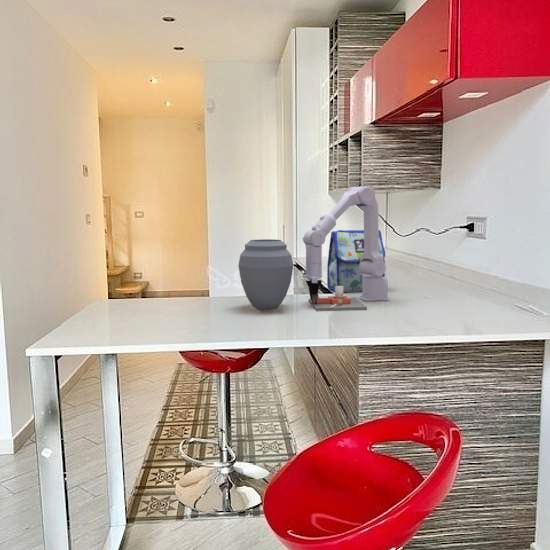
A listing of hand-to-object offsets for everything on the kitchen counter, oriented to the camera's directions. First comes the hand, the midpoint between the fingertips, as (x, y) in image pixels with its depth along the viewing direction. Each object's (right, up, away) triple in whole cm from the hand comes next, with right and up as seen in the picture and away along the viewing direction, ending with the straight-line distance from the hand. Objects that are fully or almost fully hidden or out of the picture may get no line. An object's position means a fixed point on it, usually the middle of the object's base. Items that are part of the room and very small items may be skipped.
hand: (313, 299), depth 196 cm
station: (+9, -2, 0) cm, 10 cm away
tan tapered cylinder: (+9, -3, -6) cm, 11 cm away
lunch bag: (+21, +2, +34) cm, 40 cm away
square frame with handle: (+6, -1, -1) cm, 6 cm away
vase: (-17, -3, -5) cm, 18 cm away
